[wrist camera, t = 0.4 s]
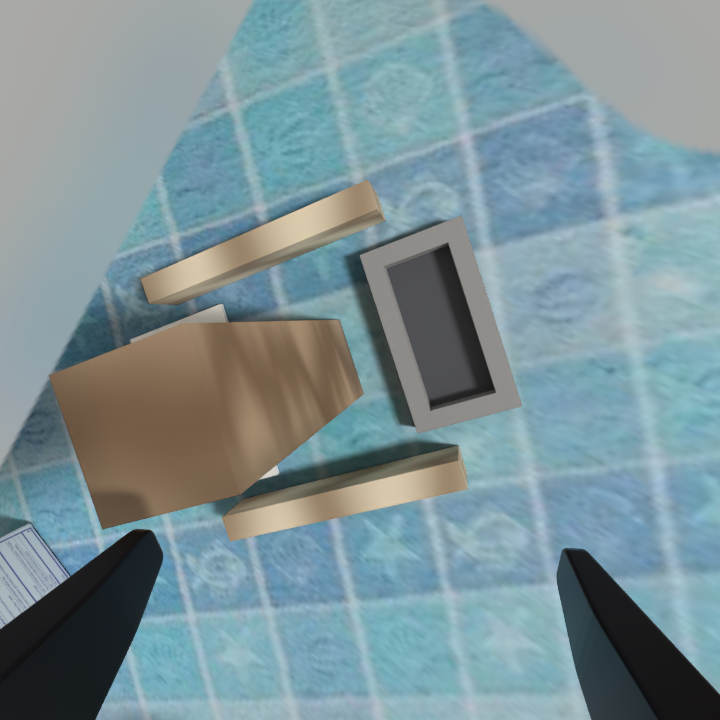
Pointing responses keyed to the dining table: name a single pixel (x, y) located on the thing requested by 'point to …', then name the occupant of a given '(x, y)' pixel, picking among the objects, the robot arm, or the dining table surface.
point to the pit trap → (440, 327)
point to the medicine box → (25, 572)
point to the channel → (262, 252)
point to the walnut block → (200, 410)
